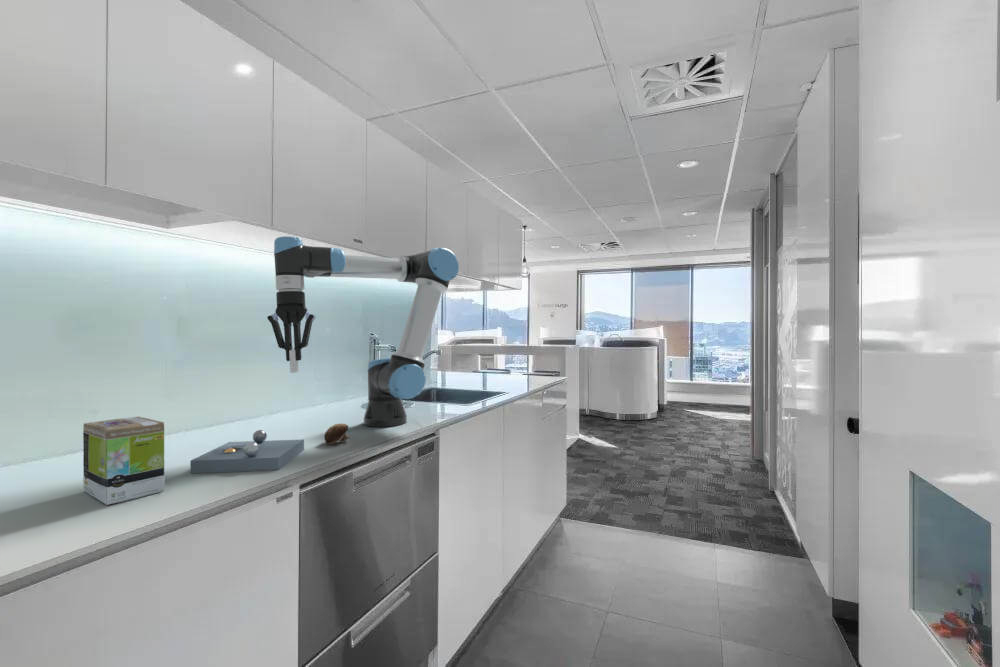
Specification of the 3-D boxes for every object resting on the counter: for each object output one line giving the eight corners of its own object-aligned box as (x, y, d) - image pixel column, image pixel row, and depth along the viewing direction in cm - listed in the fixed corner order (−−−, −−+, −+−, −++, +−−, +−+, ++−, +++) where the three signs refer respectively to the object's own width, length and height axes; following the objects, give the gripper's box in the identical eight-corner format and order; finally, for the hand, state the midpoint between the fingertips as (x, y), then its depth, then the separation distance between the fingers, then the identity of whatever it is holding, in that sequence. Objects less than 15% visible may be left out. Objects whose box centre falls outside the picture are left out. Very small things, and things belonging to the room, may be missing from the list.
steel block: (268, 440, 124) (268, 428, 124) (263, 443, 121) (263, 431, 121) (256, 441, 124) (255, 429, 124) (250, 444, 121) (250, 431, 121)
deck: (304, 450, 126) (303, 439, 126) (278, 469, 108) (278, 457, 108) (229, 452, 124) (228, 441, 124) (190, 473, 106) (190, 460, 106)
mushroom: (359, 429, 137) (346, 414, 135) (349, 445, 130) (334, 429, 128) (340, 440, 139) (327, 425, 137) (329, 456, 132) (314, 441, 130)
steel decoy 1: (262, 454, 111) (262, 440, 111) (256, 457, 108) (255, 443, 108) (247, 454, 111) (247, 440, 111) (241, 458, 107) (241, 444, 107)
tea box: (167, 491, 94) (165, 421, 94) (105, 507, 86) (104, 430, 86) (140, 478, 103) (139, 414, 103) (81, 492, 94) (80, 422, 94)
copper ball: (239, 446, 117) (226, 447, 117) (232, 448, 114) (219, 450, 114) (240, 459, 117) (227, 460, 117) (233, 462, 114) (219, 463, 113)
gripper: (261, 290, 125) (265, 374, 126) (310, 289, 127) (314, 372, 128) (271, 292, 133) (275, 371, 133) (317, 291, 135) (321, 369, 135)
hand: (294, 372), depth 131 cm, fingers closed
